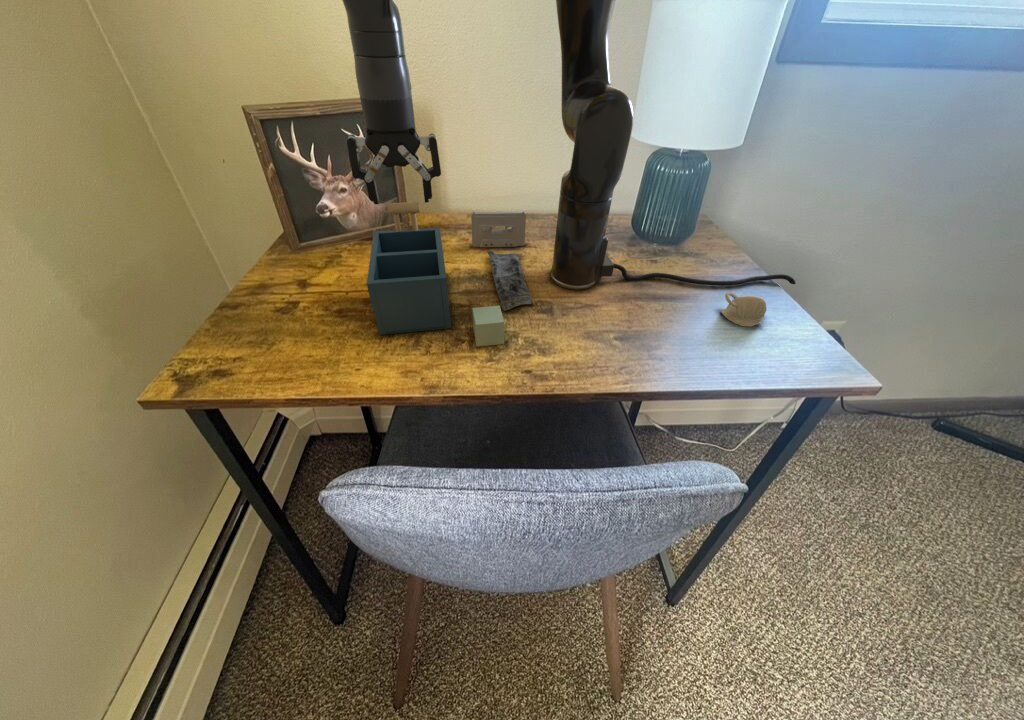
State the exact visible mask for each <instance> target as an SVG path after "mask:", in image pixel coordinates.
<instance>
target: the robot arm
mask: <svg viewBox="0 0 1024 720" xmlns="http://www.w3.org/2000/svg"><path fill="white" fill-rule="evenodd" d="M341 1H342V3H343V6H344V10H345V13H346V17H347V24H348V30H349V36H350V42H351V47H352V53H353V59H354V71H355V78H356V83H357V84H356V85H357V88H358V94H359V100H360V105H361V110H362V115H363V121H364V126H365V131H366V134H365V137H364V136H356V135H355V134H353V133H351V134H349V135H348V136H347V140H346V146H347V151H348V157H349V164H350V168H351V169H350V170H351V175H352V177H353V179H355V180H362V181H364V183H365V186H366V191H367V196H368V199H369V201H370V202H373V204H374V205H379V204H380V197H379V192H378V187H377V180H376V178H375V177H376V175H377V173H378V172H379V170H380V168H381V167H382V165H383V166H386V168H392V167H396V166H397V167H401V168H405V167H406V168H407V166H409V165H410V166H411V167H412V169H414V170H415V172H417V173H418V174H419V176H421V179H422V190H423V198H424V203H425V204H426V203H429V202H430V201H429V200H432V198H433V191H432V180H433V179H434V178H436V177H441V176H442V169H441V163H440V155H439V148H438V141H437V136H436V134H435V133H430V134H429V135H425V136H424V135H423V136H421V135H418V133H417V128H416V120H415V119H416V118H415V110H414V102H413V95H412V83H411V76H410V72H409V66H408V62H407V57H406V48H405V40H404V32H403V25H402V24H403V23H402V19H401V14H400V11H399V7H398V6H397V4H396V3H395V1H394V0H341ZM616 1H617V0H555V5H556V15H557V17H556V18H557V25H558V31H559V41H560V42H559V43H560V51H561V52H560V54H561V55H560V56H561V58H560V59H561V121H562V126H563V130H564V132H565V134H566V136H567V138H569V139H570V141H571V142H573V149H572V150H573V151H572V158H571V163H570V168H569V170H567V171H565V172H564V173H563V175H562V176H561V181H560V189H559V200H558V209H557V218H556V226H555V236H554V246H553V253H552V256H553V257H552V264H551V272H550V278H551V279H550V280H552V282H553V283H554V284H556V285H557V286H559V287H561V288H564V289H569V290H577V291H578V290H587V289H589V288H592V287H593V286H595V285H599V284H600V283H601V279H602V277H612V276H613V272H614V270H615V269H616V270H619V272H621V275H622V276H621V277H622V278H623V279H625V280H627V281H643V280H648V279H653V278H660V279H668V280H673V281H677V282H682V283H687V284H694V285H701V286H718V287H719V286H720V287H721V286H722V287H723V286H738V285H739V286H740V285H744V284H747V283H748V284H749V283H752V282H759V281H761V282H763V281H771V280H785V281H787V282H788V283H789V284H790V285H796V280H795V279H794V278H793V276H790V275H788V274H782V273H781V274H780V273H779V274H778V273H777V274H767V275H759V276H758V275H757V276H756V275H755V276H751V277H747V278H746V277H745V278H742V279H736V280H735V279H734V280H708V279H698V278H697V279H696V278H690V277H685V276H680V275H675V274H671V273H666V272H665V273H664V272H651V273H646V274H642V275H641V274H640V275H636V276H635V275H634V276H633V275H630V274H628V273H627V269H626V268H625V267H624V266H623V265H621V264H618V263H615V262H613V261H612V260H611V258H610V257H609V256H608V254H607V248H608V244H609V238H608V237H607V235H606V231H607V226H608V221H609V216H610V211H611V206H612V200H613V195H614V192H615V188H616V186H617V185H618V183H619V181H620V179H621V177H622V174H623V171H624V167H625V162H626V159H627V155H628V151H629V147H630V142H631V138H632V133H633V127H634V119H635V117H634V115H635V114H634V107H633V103H632V101H631V99H630V97H629V96H628V95H627V94H626V93H625V92H624V91H622V90H621V89H619V88H617V87H615V86H613V85H612V84H611V83H612V82H611V73H610V54H609V41H610V39H609V37H610V29H611V22H612V18H613V13H614V8H615V5H616ZM421 145H422V146H423V147H424V149H425V151H427V152H430V157H431V164H432V166H431V167H429V168H428V167H427V166H426V164H424V162H423V160H422V159H421V158H420V156H419V155H418V154H417V152H418V151H419V149H420V146H421ZM365 146H366V148H367V149H368V150H369V151H370V153H371V154H372V155H373V157H372V159H371V161H370V164H369V166H368V167H367V169H364V168H362V166H361V160H360V153H362V151H363V148H364V147H365Z"/></svg>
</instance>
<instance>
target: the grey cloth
mask: <svg viewBox="0 0 1024 720" xmlns="http://www.w3.org/2000/svg"><path fill="white" fill-rule="evenodd" d="M486 253H487V254H488V256H489V262H490V266H491V268H492V276H493V281H494V284H495V290H496V292H497V295H498V298H499V300H500V303H499V304H500V307H501V309H502V310H503V311H509V310H511V309H513V308H515V307H518V306H521V305H522V306H523V305H532V304H534V303H535V301H534V299H533V298H532V295H531V292H530V289H529V288H528V285H527V281H526V279H525V276H524V273H523V268H522V264H521V262H520V256H519V255H518V254H516V253H505V254H504V253H496V252H494V251H493V250H487V252H486Z"/></svg>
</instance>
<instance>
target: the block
mask: <svg viewBox="0 0 1024 720" xmlns="http://www.w3.org/2000/svg"><path fill="white" fill-rule="evenodd" d="M501 309H502V308H501V305H491V306H479V307H472V308H471V310H472V313H471V314H472V329H473V336H474V340H475V346H476V347H477V348H479V347H486V346H496V345H504V344H505V320H504V316H503V313H502V310H501Z"/></svg>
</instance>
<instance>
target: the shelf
mask: <svg viewBox="0 0 1024 720" xmlns="http://www.w3.org/2000/svg"><path fill="white" fill-rule="evenodd" d="M386 210H387V211H386V212H387V214H388V215H392V217H393V221H394V227H395V229H391V230H373V235H372V240H371V241H372V242H371V249H370V255H369V256H370V257H369V263H368V272H367V279H366V286H367V287H366V288H367V291H368V296H369V299H370V304H371V307H372V310H373V315H374V319H375V323H376V327H377V330H378V335H379V336H383V335H393V334H394V335H395V334H396V335H397V334H405V333H416V332H424V331H425V332H426V331H427V332H428V331H436V330H446V329H452V320H451V310H450V301H449V299H450V298H449V290H448V280H447V279H448V278H447V272H446V265H445V256H444V251H443V250H444V248H443V242H442V234H441V228H440V227H431V228H430V227H428V228H419V226H418V218H417V213H418V214H419V213H421V209H420V202H419V201H407V202H388V203H387V202H386ZM400 214H409V215H410V216H409V217H410V221H411V229H410V228H409V229H402V226H401V220H400V219H401V218H400Z"/></svg>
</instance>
